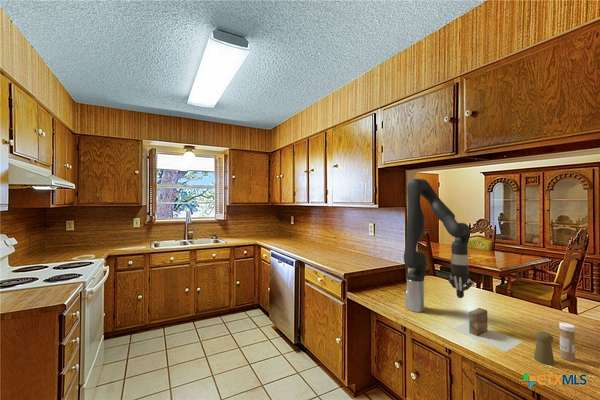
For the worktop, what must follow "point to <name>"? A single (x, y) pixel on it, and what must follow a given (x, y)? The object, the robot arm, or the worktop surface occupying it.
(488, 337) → the sage mat
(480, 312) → the teal and brown block
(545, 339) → the brown rounded upright piece
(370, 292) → the worktop surface
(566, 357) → the sprinkles bottle
